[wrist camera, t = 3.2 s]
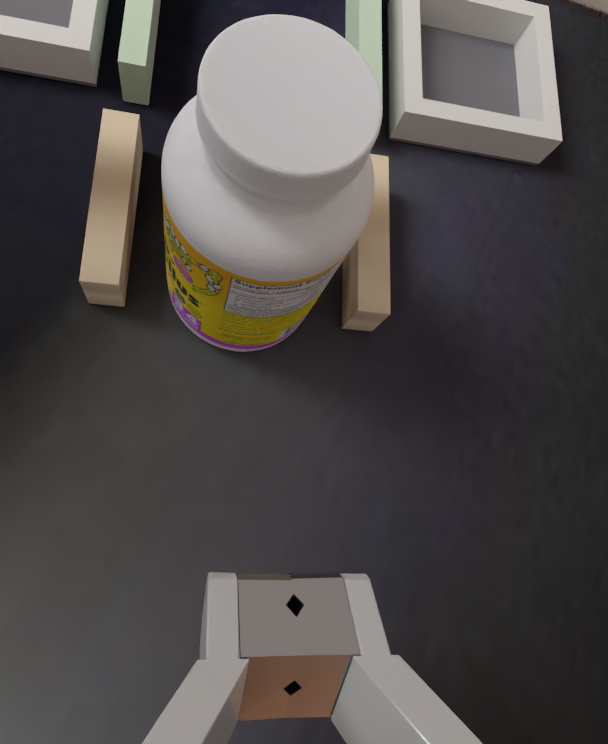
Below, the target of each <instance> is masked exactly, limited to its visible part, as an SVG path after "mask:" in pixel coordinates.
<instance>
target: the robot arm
mask: <svg viewBox="0 0 608 744" xmlns="http://www.w3.org/2000/svg"><path fill="white" fill-rule="evenodd" d="M290 717H331V721H332V722H333V724H334V725H335V727H336V728H337V730H338V731H339V733H340V734H341V736H342V737H343V739H344V740H345V742H346V743H347V744H483V743H482V742H481V741H480V740H479V739H478V738H477V737H476V736H475V735H474V734H473V733H472V732H471V731H470V730H469V729H468V728H467V726H466V725H465V724H464V723H463V722H462V721H461V720H460V719H459V718H458V717H457V716H456V715H455V714H454V713H453V712H452V711H451V710H450V708H449V707H448V706H447V705H446V704H445V703H444V702H443V701H442V700H441V699H440V698H439V697H438V696H437V695H436V694H435V693H434V692H433V690H432V689H431V688H430V687H429V686H428V685H427V684H426V683H425V682H424V681H423V680H422V679H421V678H420V677H419V676H418V675H417V674H416V672H415V671H414V670H413V669H412V668H411V667H410V666H409V665H408V664H407V663H406V662H405V661H404V660H403V659H402V658H401V657H400V656H399V655H391V652H390V649H389V645H388V641H387V638H386V634H385V631H384V627H383V624H382V620H381V617H380V613H379V610H378V606H377V603H376V599H375V596H374V592H373V589H372V585H371V582H370V578H369V577H368V576H367V574H339V573H288V574H262V573H227V572H209V573H208V574H207V582H206V590H205V598H204V606H203V615H202V627H201V638H200V660H197V661H196V663H195V664H194V666H193V667H192V669H191V670H190V672H189V673H188V675H187V676H186V678H185V679H184V681H183V682H182V684H181V685H180V687H179V688H178V690H177V691H176V693H175V694H174V696H173V697H172V699H171V700H170V702H169V703H168V705H167V706H166V708H165V709H164V711H163V712H162V714H161V715H160V717H159V718H158V720H157V721H156V723H155V724H154V726H153V727H152V729H151V730H150V732H149V733H148V735H147V736H146V738H145V739H144V741H143V742H142V744H227V743H228V741H229V739H230V737H231V735H232V733H233V731H234V729H235V727H236V725H237V721H246V720H259V719H272V718H290Z"/></svg>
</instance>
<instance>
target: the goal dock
mask: <svg viewBox="0 0 608 744" xmlns="http://www.w3.org/2000/svg"><path fill="white" fill-rule="evenodd" d="M160 4H161V0H126V3H125V10H124V18H123V25H122V32H121V40H120V47H119V54H118V68H119V75H120V82H121V89H122V96H123V101H126V102H131V103H137V104H143V105H149V98H150V90H151V81H152V73H153V64H154V55H155V47H156V38H157V30H158V21H159V12H160ZM345 39H346V40H347V41H348V42H349V43H350V44H352V45H353V46H354V47H355V48H356V49H357V50H358V51H359V53H360V54H361V55H362V56H363V57H364V59H365V60H366V61H367V63H368V64H369V66H370V68H371V69H372V71H373V73H374V76H375V78H376V80H377V82H378V85H379V89H380V92H381V96H382V1H381V0H346V33H345ZM382 111H383V104H382Z"/></svg>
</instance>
